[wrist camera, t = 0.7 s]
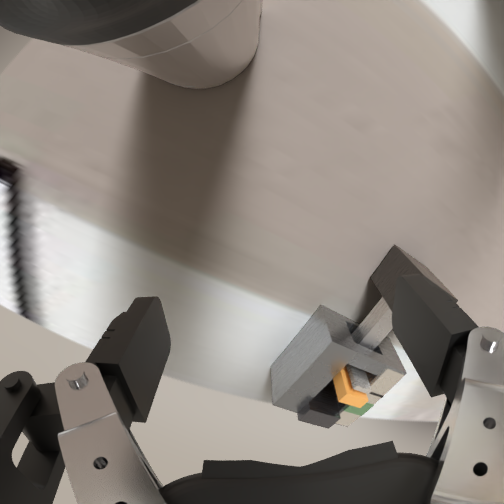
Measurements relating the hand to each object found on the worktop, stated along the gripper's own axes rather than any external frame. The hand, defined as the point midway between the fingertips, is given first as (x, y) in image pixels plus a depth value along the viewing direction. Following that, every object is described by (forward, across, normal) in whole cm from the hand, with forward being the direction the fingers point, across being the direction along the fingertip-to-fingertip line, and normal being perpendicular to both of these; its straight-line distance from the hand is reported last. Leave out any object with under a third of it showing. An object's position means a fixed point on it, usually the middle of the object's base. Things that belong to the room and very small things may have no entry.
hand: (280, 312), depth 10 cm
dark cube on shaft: (+18, -11, +11) cm, 24 cm away
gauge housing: (+18, -6, +18) cm, 26 cm away
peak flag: (+17, -7, +17) cm, 25 cm away
